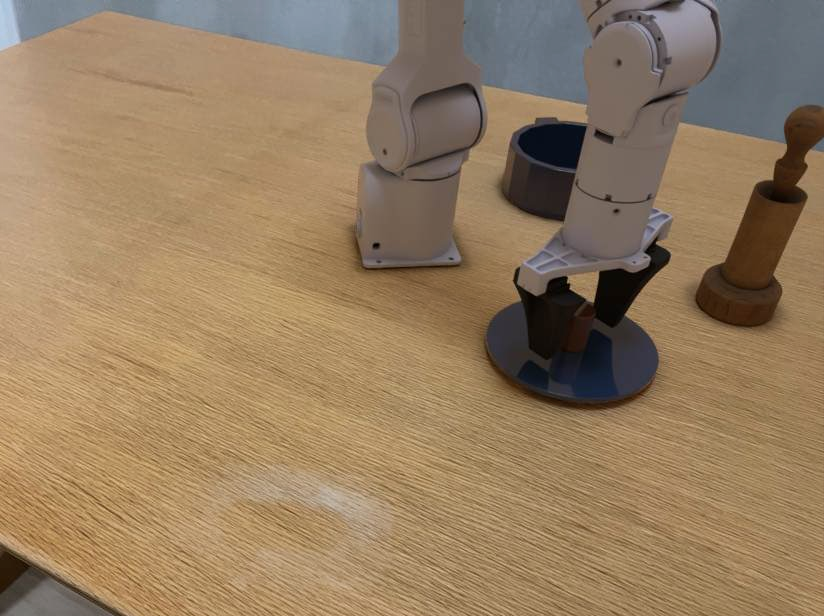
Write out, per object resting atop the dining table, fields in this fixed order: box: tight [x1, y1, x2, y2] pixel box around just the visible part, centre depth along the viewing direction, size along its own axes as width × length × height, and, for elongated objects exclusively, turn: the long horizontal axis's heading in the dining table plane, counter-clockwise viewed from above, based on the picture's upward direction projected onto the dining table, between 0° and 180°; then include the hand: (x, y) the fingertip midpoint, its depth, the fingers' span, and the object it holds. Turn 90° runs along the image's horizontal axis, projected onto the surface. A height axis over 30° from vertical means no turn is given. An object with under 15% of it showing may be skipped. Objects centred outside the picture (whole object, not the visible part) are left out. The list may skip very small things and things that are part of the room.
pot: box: [501, 116, 588, 221], centre depth 88 cm, size 13×18×5 cm
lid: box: [485, 300, 660, 404], centre depth 67 cm, size 14×14×5 cm
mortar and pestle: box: [695, 104, 824, 326], centre depth 68 cm, size 7×6×18 cm
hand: (573, 336), depth 68 cm, fingers open, 7 cm apart
